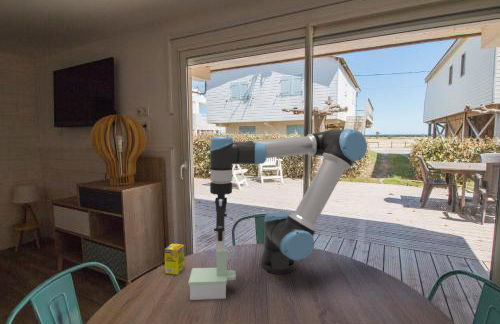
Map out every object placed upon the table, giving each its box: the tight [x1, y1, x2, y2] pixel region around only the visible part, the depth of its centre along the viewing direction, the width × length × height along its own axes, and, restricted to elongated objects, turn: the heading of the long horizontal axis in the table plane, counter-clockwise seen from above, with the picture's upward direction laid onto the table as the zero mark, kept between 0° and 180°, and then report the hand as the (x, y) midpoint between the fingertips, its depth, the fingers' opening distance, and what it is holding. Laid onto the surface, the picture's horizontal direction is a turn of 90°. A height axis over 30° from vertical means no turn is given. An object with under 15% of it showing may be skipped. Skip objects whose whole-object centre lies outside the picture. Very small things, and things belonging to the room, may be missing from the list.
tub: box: [189, 284, 227, 301], centre depth 96 cm, size 12×9×6 cm
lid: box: [188, 247, 237, 286], centre depth 96 cm, size 16×10×10 cm, turn 94°
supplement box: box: [164, 243, 185, 276], centre depth 111 cm, size 6×6×11 cm
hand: (220, 241), depth 95 cm, fingers open, 13 cm apart
